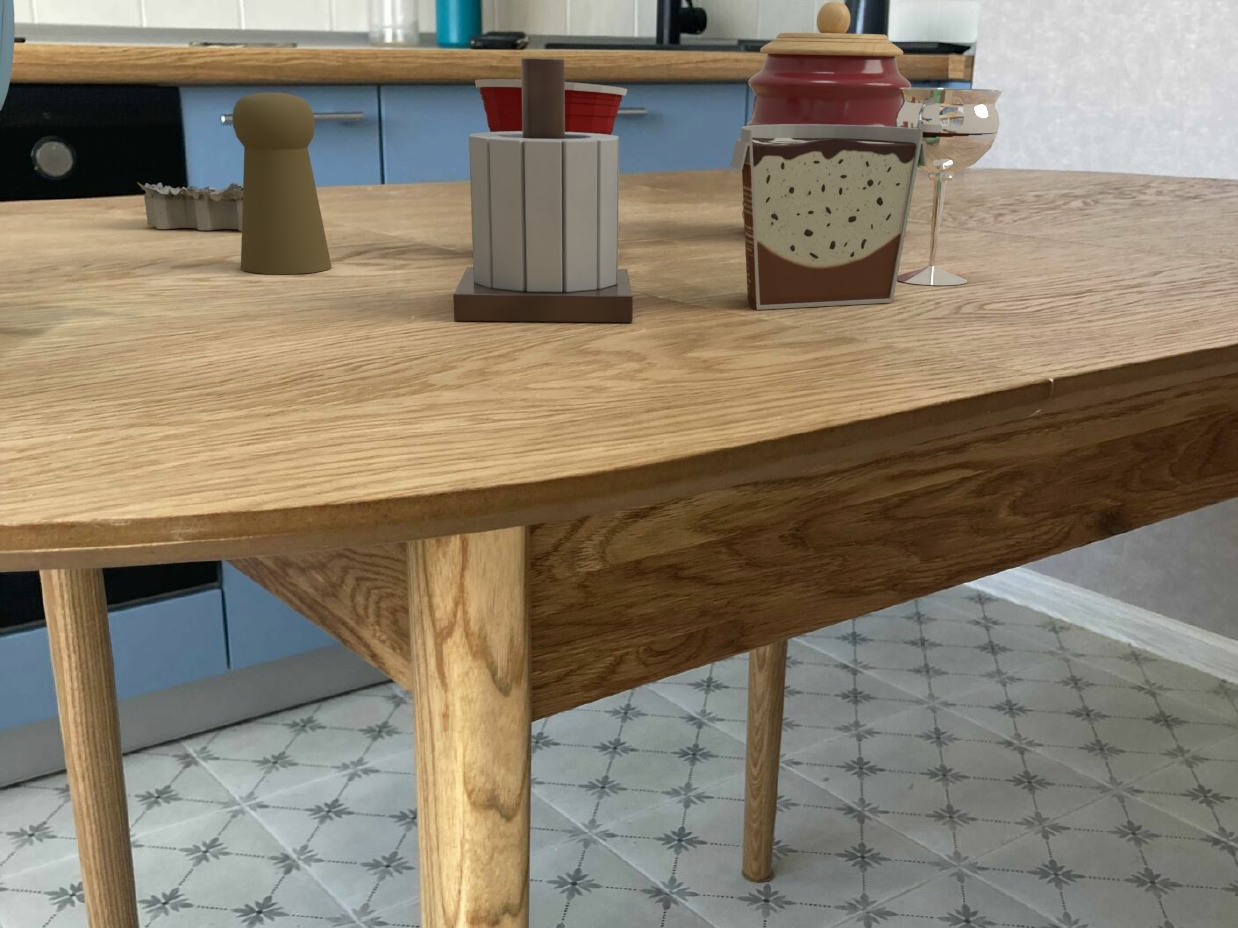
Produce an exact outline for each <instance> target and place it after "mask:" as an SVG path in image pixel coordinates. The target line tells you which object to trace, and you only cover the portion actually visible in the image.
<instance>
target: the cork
mask: <svg viewBox="0 0 1238 928" xmlns="http://www.w3.org/2000/svg"><path fill="white" fill-rule="evenodd" d="M231 118H232V126H233V131H234V133H235V136H236V138H237V139H238V141H239V142H240V143H241V145H242V146H243V148H244V150H243V152H244V153H243V181H242V185H243V209H242V232H241V245H240V246H241V247H240V252H241V253H240V269H241V270H242V271H243V272H248V273H255V274H263V275H298V274H299V275H300V274H301V275H302V274H312V273H320V272H324V271H328V270H330V269H332V261H331V256H330V252H329V247H328V241H327V235H326V232H325V226H324V221H323V216H322V212H321V207H320V202H319V197H318V192H317V187H316V181H315V176H314V173H313V166H312V161H311V157H310V152H309V145H310V144H311V142H312V140H313V139H314V135H315V130H316V125H315V116H314V112H313V108H312V107H311V106H310V104H309V103H308V101H307V100H306V99H304V98H303V97H300V96H297V95H293V94H290V93H285V92H256V93H251V94H248V95H245V96H242V97H240V98H239V99H237V101H236V102H235V104H234V106H233V110H232V117H231Z"/></svg>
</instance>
